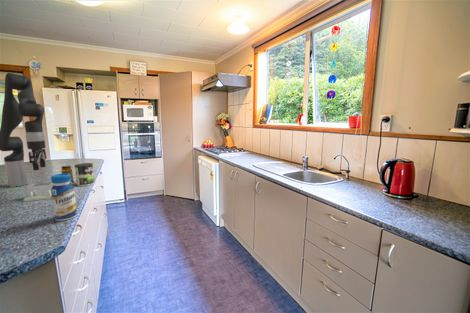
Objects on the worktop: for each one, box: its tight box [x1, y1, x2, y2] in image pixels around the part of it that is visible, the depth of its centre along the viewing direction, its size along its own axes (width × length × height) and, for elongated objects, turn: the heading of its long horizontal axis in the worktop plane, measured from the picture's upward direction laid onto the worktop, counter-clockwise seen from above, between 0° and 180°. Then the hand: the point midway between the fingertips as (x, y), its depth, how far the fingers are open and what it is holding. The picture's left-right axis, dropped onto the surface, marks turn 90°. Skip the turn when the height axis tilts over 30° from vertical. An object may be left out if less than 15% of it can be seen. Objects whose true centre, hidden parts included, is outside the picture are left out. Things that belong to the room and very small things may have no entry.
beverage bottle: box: [50, 173, 78, 222], centre depth 96 cm, size 8×8×20 cm
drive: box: [26, 182, 54, 197], centre depth 123 cm, size 12×5×6 cm, turn 110°
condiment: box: [61, 165, 74, 184], centre depth 153 cm, size 7×8×12 cm
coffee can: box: [74, 162, 95, 187], centre depth 148 cm, size 10×10×14 cm
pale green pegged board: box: [23, 190, 52, 203], centre depth 124 cm, size 14×11×4 cm
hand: (39, 168), depth 121 cm, fingers open, 8 cm apart
